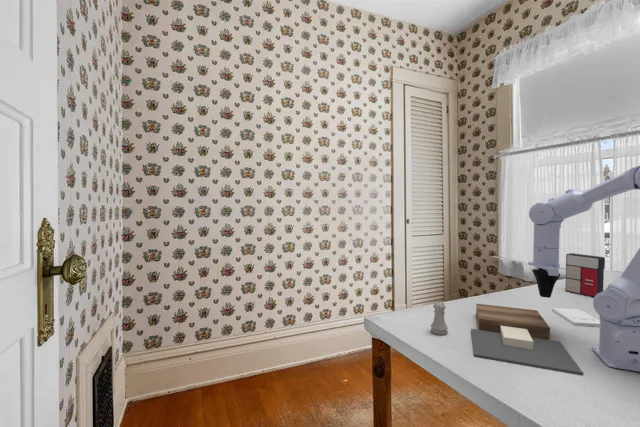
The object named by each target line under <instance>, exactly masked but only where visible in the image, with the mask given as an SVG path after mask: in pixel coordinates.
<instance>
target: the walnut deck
mask: <svg viewBox="0 0 640 427" xmlns="http://www.w3.org/2000/svg"><path fill="white" fill-rule="evenodd" d="M475 307H476V309H475V310H476V311H475V315H476V322H477V325H478V326H477V328H478V330H484V331H491V332H498V333H500V326H508V327H515V328H522V329H527V330H528V332H529V334H530V336H531V337H533V338H541V339H548V340H551V327H550V326H549V324H548V323H547V322H546V320H545V319H544V317H543V316H542V315H541V314H540V312H539V311H538V310H537V309H536V310H535V309H527V308H519V307H509V306H501V305H491V304H483V303H482V304H481V303H476V306H475Z"/></svg>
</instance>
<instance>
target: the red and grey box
mask: <svg viewBox="0 0 640 427" xmlns="http://www.w3.org/2000/svg"><path fill="white" fill-rule="evenodd" d="M565 257H566V259H565V289H564V290H565V291H566V292H569V293H572V294H577V295H581V296H585V297H586V296H587V297H590V298H594V297H595V296H596V295H597V294H598V293H600V292H603V291H604V280H605V279H604V277H605V276H604V272H605V267H606V258H605V256H595V255H590V254H580V253H573V252H571V253H566V256H565Z"/></svg>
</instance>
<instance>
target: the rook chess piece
mask: <svg viewBox="0 0 640 427" xmlns="http://www.w3.org/2000/svg"><path fill="white" fill-rule="evenodd" d="M432 307H433V309H434V310H433V313H434V318H433V321H432V323H431V324H430V331H431V333H432V334H435V335H437V336H446V335H447V334H448V333H449V331H448V326H447V324H446V321H445V313H446V312H445V310H446V308H447V306H446V305H445V303H444V302H443V301H434V304H433V305H432Z"/></svg>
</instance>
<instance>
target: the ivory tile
mask: <svg viewBox="0 0 640 427" xmlns="http://www.w3.org/2000/svg"><path fill="white" fill-rule="evenodd" d="M500 334H501V337H502V341H503V344H504V345H505V346H511V347H518V348H524V349H530V350H533V340H532V338H531V336H530V334H529V332H528V330H527V329H522V328H515V327H508V326H500Z"/></svg>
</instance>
